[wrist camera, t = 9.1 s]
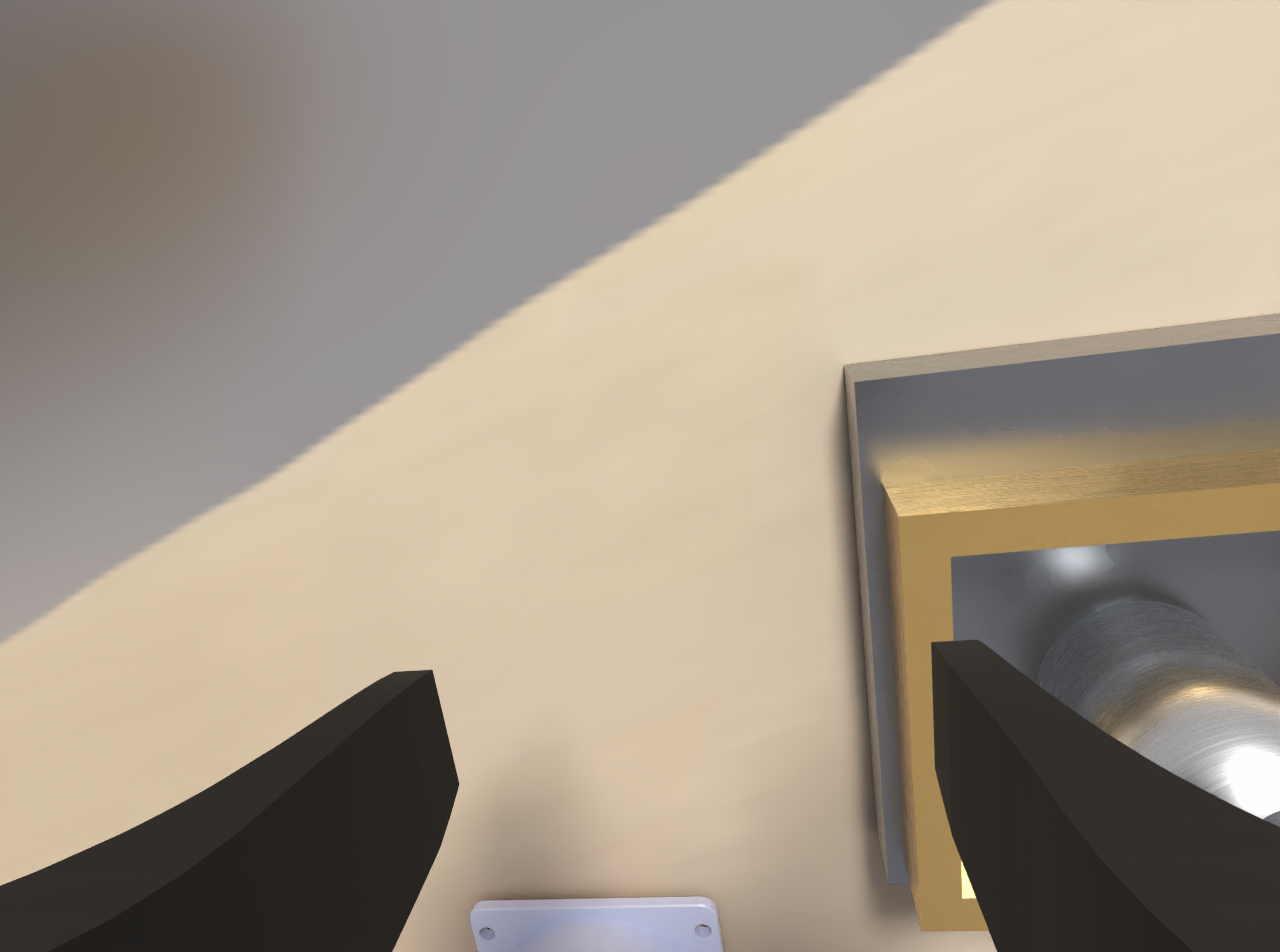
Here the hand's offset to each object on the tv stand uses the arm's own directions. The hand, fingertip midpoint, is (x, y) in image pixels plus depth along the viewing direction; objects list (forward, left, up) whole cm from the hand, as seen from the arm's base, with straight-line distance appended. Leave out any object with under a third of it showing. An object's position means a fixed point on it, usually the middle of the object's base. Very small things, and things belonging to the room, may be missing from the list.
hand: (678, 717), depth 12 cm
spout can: (-5, -10, -8) cm, 14 cm away
